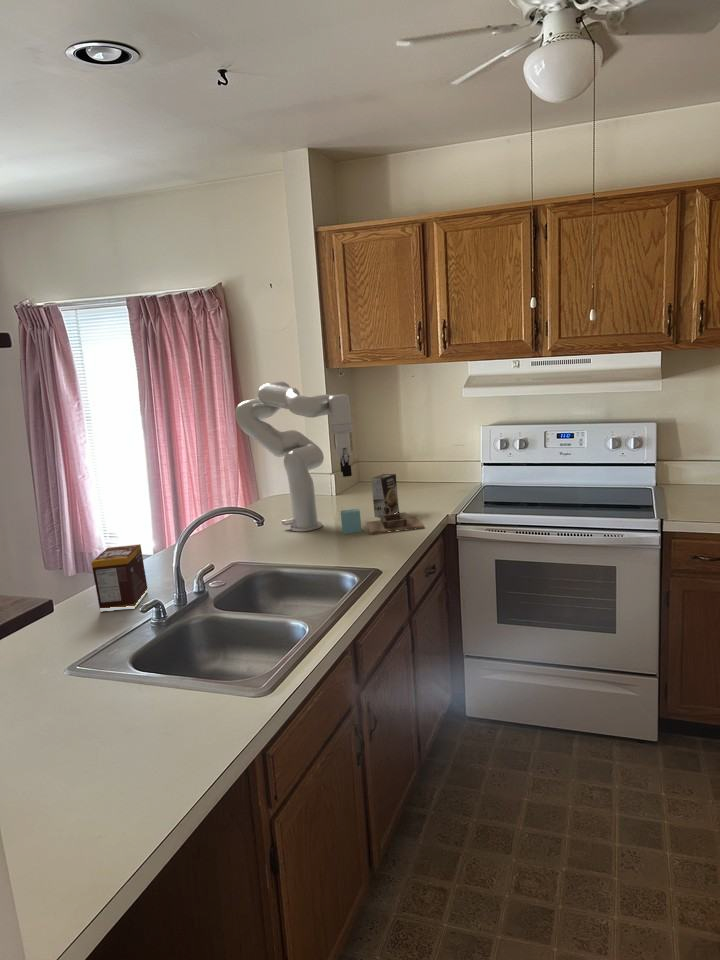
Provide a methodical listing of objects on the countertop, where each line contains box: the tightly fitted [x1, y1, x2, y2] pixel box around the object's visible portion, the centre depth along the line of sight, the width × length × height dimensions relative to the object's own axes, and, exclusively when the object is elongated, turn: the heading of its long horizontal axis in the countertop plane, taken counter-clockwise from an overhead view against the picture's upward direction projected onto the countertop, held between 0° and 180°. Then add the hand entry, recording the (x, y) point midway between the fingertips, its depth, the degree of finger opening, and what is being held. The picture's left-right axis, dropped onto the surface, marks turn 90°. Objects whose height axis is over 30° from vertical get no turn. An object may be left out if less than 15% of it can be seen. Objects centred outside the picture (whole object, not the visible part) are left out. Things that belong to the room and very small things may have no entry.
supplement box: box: [91, 544, 148, 609], centre depth 215 cm, size 10×15×16 cm
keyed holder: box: [365, 512, 424, 535], centre depth 273 cm, size 20×16×4 cm
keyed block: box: [339, 508, 363, 535], centre depth 271 cm, size 7×4×8 cm, turn 95°
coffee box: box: [370, 473, 400, 518], centre depth 291 cm, size 9×6×16 cm
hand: (346, 474), depth 268 cm, fingers open, 9 cm apart
